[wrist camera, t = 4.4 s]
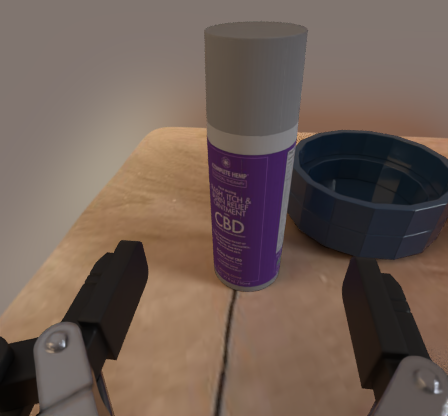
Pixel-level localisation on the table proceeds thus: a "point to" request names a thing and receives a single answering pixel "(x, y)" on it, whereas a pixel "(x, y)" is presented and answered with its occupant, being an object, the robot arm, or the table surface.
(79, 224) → the table surface
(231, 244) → the container
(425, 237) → the bowl
